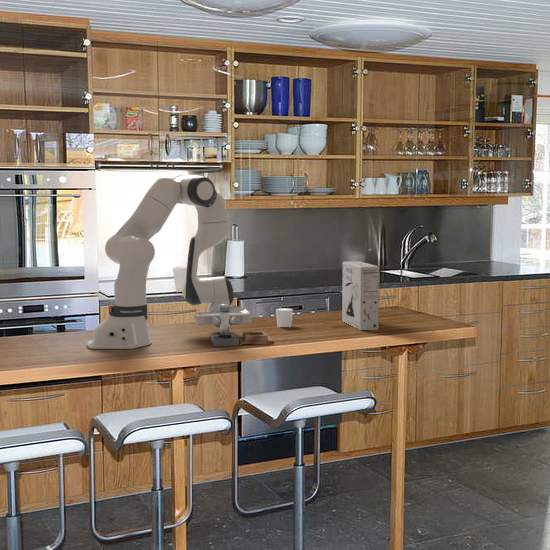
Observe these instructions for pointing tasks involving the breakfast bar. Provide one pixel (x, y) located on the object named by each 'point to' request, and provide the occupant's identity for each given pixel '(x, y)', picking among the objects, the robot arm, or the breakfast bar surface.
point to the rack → (255, 338)
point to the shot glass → (284, 317)
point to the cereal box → (360, 295)
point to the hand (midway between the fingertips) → (225, 321)
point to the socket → (225, 340)
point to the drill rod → (224, 321)
